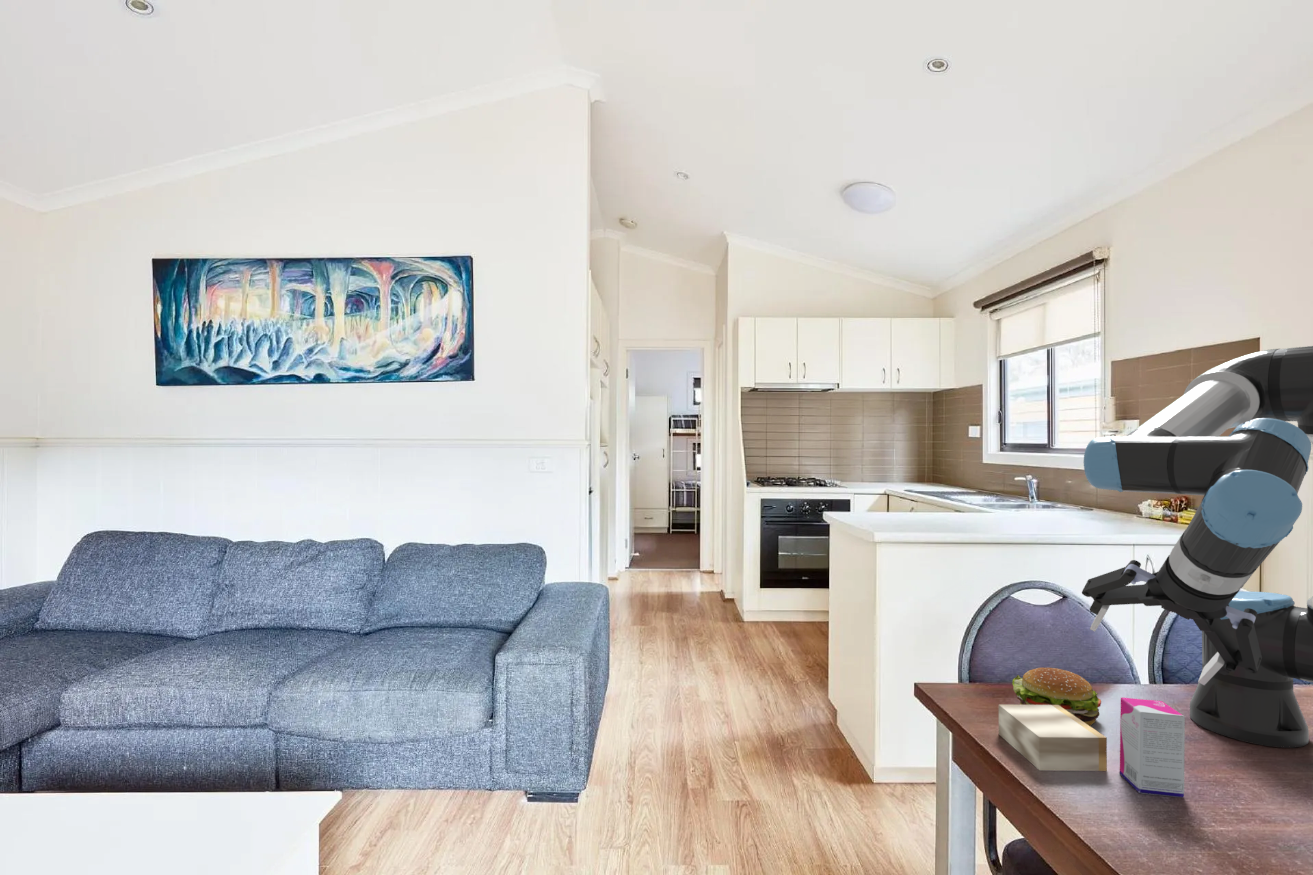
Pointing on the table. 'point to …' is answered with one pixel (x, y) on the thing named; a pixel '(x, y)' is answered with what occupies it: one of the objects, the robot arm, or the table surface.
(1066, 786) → the table surface
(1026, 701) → the food
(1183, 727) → the supplement box
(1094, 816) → the table surface
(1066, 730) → the block
